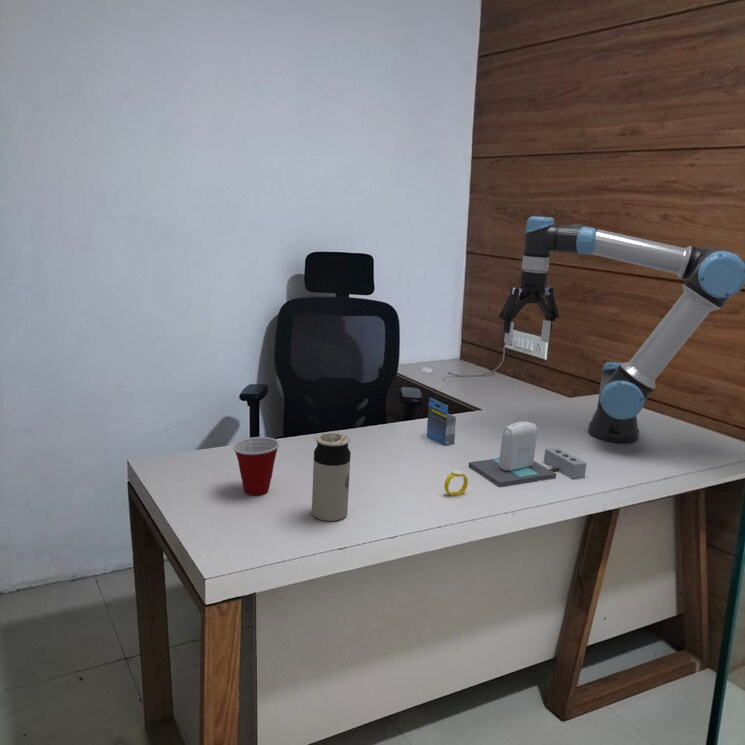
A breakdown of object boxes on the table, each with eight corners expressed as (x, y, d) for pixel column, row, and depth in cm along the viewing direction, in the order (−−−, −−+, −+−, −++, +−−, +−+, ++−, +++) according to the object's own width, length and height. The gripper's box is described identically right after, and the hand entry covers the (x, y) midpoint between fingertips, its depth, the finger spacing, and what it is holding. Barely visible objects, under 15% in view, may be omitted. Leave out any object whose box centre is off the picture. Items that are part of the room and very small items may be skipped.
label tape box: (454, 444, 207) (458, 403, 204) (444, 446, 204) (447, 405, 201) (435, 434, 214) (439, 395, 211) (425, 436, 211) (428, 397, 208)
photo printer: (523, 460, 193) (529, 417, 190) (535, 466, 190) (541, 422, 186) (496, 467, 187) (500, 422, 184) (507, 472, 184) (512, 427, 181)
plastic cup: (237, 480, 173) (237, 433, 170) (281, 482, 173) (282, 436, 170) (227, 499, 163) (227, 449, 160) (274, 502, 163) (275, 453, 160)
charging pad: (522, 458, 198) (523, 454, 198) (555, 478, 186) (556, 473, 186) (468, 466, 190) (469, 461, 190) (499, 487, 178) (499, 481, 178)
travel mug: (305, 517, 156) (308, 440, 152) (320, 503, 163) (323, 429, 159) (338, 525, 154) (342, 447, 149) (352, 510, 161) (356, 435, 156)
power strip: (554, 460, 198) (556, 446, 197) (584, 477, 188) (586, 462, 187) (529, 464, 194) (530, 450, 193) (558, 481, 184) (560, 466, 183)
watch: (461, 491, 175) (465, 468, 174) (467, 495, 173) (471, 472, 172) (441, 493, 172) (444, 470, 171) (447, 498, 170) (451, 474, 169)
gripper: (559, 269, 214) (551, 338, 220) (491, 269, 204) (484, 341, 209) (576, 272, 208) (567, 343, 213) (507, 272, 197) (499, 347, 203)
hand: (526, 342), depth 211 cm, fingers open, 13 cm apart
